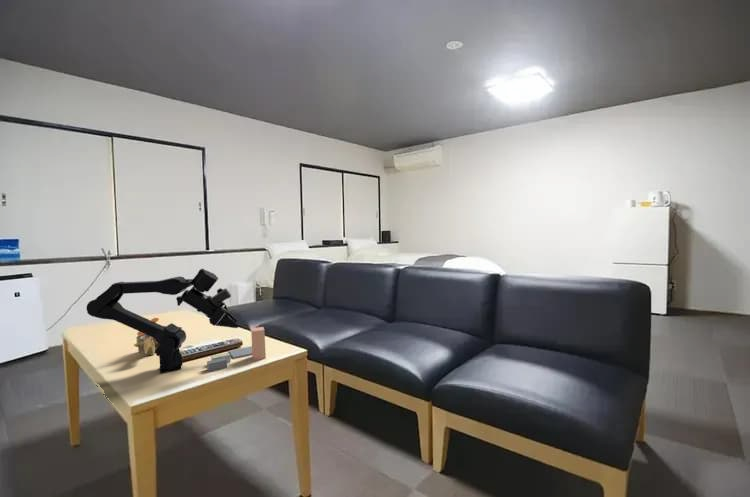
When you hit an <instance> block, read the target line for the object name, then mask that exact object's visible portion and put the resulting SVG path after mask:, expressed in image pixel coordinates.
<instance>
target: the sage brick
mask: <svg viewBox="0 0 750 497" xmlns="http://www.w3.org/2000/svg"><path fill="white" fill-rule="evenodd" d="M210 357H211V359H210V361H211V360H216V359H221V358H226V359H227V364H228V363H231V362H232V361H231V355H230V353H229V352H226V353H219V354H214V355H211V356H210Z"/></svg>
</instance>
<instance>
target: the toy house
mask: <svg viewBox="0 0 750 497" xmlns="http://www.w3.org/2000/svg"><path fill="white" fill-rule="evenodd" d="M149 320H150V321H153V322H155V323H157V322H159V320H160V318H158V317H154V318H152V319H149ZM136 335H137V336H139V337H142V336H144V335H145V338H144V340H142V341H140V342H139V343H138V348H137V349H138V354H139V355H140V356H143V355H148V356H153V355H155V350H156V349H157V348H158V347H159V346H160V345H159V344H158V343H157V341H156V340H155V339H154V338H153V337H151V336H149V335H146V334H144V333H142V332H140V331H137V333H136Z"/></svg>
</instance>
